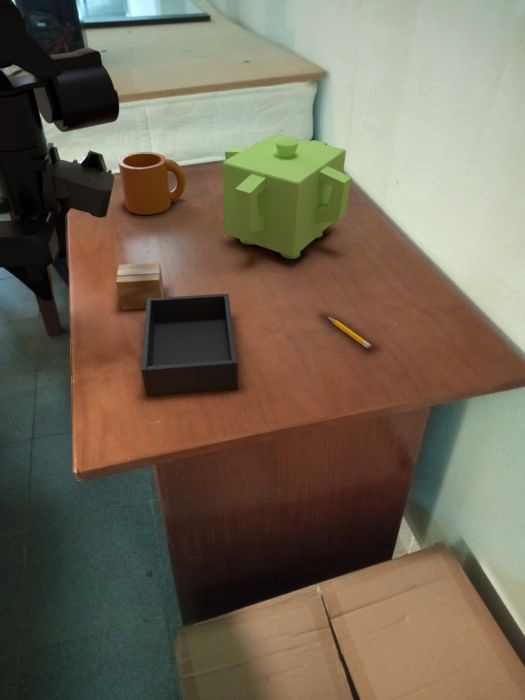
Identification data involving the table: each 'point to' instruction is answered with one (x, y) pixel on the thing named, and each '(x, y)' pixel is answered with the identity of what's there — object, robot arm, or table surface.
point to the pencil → (351, 334)
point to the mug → (149, 182)
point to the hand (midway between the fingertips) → (55, 277)
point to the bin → (189, 345)
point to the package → (139, 284)
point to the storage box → (283, 192)
